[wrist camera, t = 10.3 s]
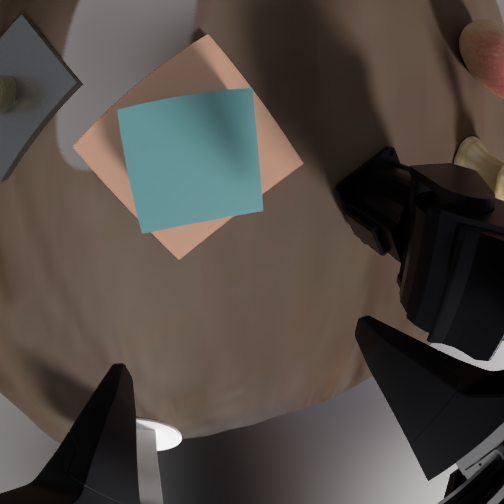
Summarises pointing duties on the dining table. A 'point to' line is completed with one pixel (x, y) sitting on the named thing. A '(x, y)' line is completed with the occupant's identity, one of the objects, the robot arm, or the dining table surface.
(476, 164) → the hand bell
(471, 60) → the apple
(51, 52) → the post base
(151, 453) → the white stand
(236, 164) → the teal cube
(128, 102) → the tile
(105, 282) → the dining table surface
